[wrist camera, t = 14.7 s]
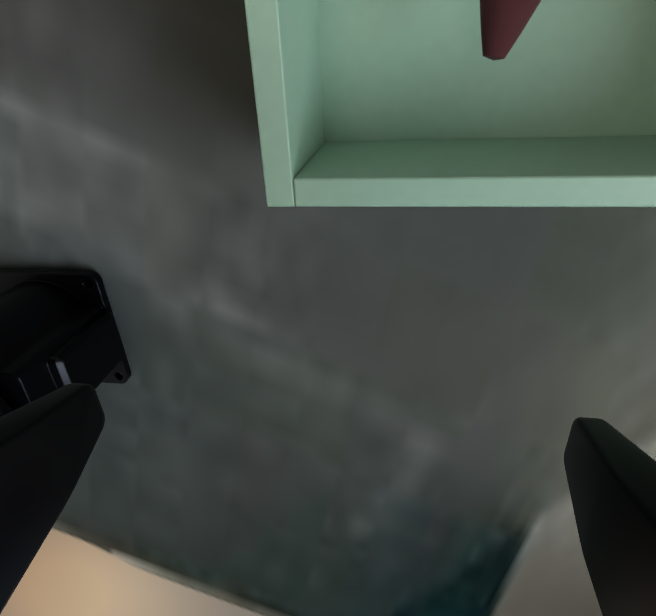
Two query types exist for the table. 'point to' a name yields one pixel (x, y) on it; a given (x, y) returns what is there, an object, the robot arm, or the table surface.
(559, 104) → the green open box
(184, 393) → the table surface
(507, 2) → the icecream
